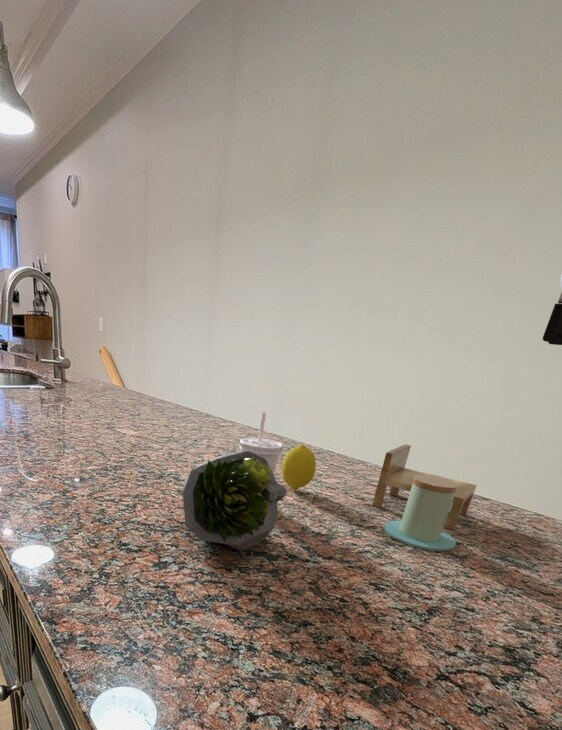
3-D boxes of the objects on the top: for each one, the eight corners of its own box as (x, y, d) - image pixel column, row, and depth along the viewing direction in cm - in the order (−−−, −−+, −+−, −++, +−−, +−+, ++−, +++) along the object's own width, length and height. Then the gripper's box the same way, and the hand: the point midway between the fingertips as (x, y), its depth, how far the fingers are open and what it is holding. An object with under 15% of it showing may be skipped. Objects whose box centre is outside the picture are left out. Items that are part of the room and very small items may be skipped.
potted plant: (291, 503, 61) (329, 517, 46) (215, 558, 62) (227, 589, 47) (240, 431, 60) (261, 421, 45) (163, 487, 60) (159, 496, 46)
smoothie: (259, 495, 73) (273, 409, 68) (280, 510, 68) (298, 417, 62) (224, 497, 71) (236, 408, 65) (243, 512, 65) (258, 417, 60)
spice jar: (444, 534, 63) (462, 482, 60) (435, 545, 59) (453, 490, 56) (404, 522, 66) (419, 472, 63) (393, 532, 62) (408, 479, 59)
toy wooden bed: (466, 514, 73) (485, 461, 70) (453, 530, 66) (473, 472, 62) (391, 493, 80) (405, 444, 77) (371, 505, 73) (386, 452, 70)
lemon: (290, 482, 81) (299, 439, 78) (317, 492, 77) (326, 447, 74) (271, 487, 77) (279, 442, 74) (297, 497, 74) (307, 450, 70)
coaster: (461, 538, 63) (462, 535, 63) (446, 557, 57) (447, 555, 57) (395, 518, 69) (396, 515, 68) (375, 534, 62) (376, 531, 62)
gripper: (686, 141, 40) (601, 344, 47) (663, 194, 52) (599, 348, 59) (579, 155, 44) (516, 338, 51) (581, 200, 57) (530, 343, 63)
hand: (560, 343), depth 55 cm, fingers open, 9 cm apart
